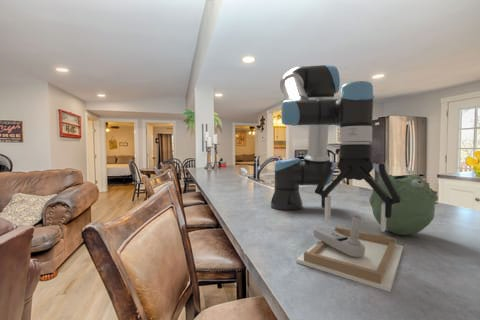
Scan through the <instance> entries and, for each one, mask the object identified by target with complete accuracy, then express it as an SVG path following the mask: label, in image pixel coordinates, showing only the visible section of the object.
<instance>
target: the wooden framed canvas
mask: <svg viewBox="0 0 480 320" xmlns="http://www.w3.org/2000/svg"><path fill="white" fill-rule="evenodd" d="M333 231H336V232H338V233H340V234H342V235H344V236H347V237H349V238H350V232H351V228H346V227H340V226H335V227H334V230H333ZM396 239H397V238H395V237H391V236H387V235H382V234H376V233H371V232H365V231H361V230H360V231H359V239H358V240H359V241H360V243H362V244H363V245H364V246H365V253H364V255H363V256H362V257H353V256H350V255H348V254H346V253H344V252H342V251H340V250H338V249H336V248H334V247H332V246H330V245H328V244H326V243H325V242H323V241H321V240H319V239H318V241H317V242H315V243H314V244H313V245H311V247H310V248H308V249H307V250H305V251H304V252H303V253H302V254H301V255H300V256H298V257H297V258H296V260H295V261H296V263H298V264H301V265H304V266H307V267H310V268H313V269H317V270H319V271H323V272H326V273H329V274H333V275H335V276H338V277H342V278H345V279H347V280H351V281H354V282H357V283H360V284H363V285H367V286H370V287H373V288H376V289H379V290H382V291H385V292H389V293H391V291H392V289H393V285H394V282H395V278H396V274H397V271H398V268H399V265H400V261H401V257H402V254H403V250H404V246H403V245H398V244H396V241H397V240H396Z"/></svg>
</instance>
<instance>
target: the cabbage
mask: <svg viewBox="0 0 480 320" xmlns="http://www.w3.org/2000/svg"><path fill="white" fill-rule="evenodd" d="M388 175H389V177H390V179H391V181H392V183H393V185H394V186H395V188H396V190H397V192H398V194H399V196H400V198H401V201H400V202H399V203H394V204H392V215H391V217H390V218H387V217H386V230H387V231H389V232H390V233H393V234H395V235H397V236H398V235H399V236H410V235H416V234H418V233H419V232H421V231H423V230H424V229H425V228H427V227H428V226H429V225H430V224H431V222H432V221H433V219H434V218H435V211H436V205H437V204H438V202H437V201H439V197H438V191H436V190H433V189H432V188H431V187H430V186H431V185H430V183H429V182H427V181H425V180H424V179H423V178H422V176H420V175H419V174H416V173H413V174H412V175H408V174H405V175H404V174H403V175H392V174H388ZM377 183H378V184H379V186H380V187H381V188H382V189H383V190H384V191H385V192H386V194H387V195H388V196H389V197H390V198H392V196H391V194H390V193H389V191H388V189H387V187H386V185H385V183H384V181H383V179H382V178H381V179H379V181H377ZM369 203H370V206H371V208H372V210H371V211H372V215H373V217H374V218H375V220H376V221H377V223H378V224H379V225H380V226H381V204H382V203H385V202H384V201H383V200H382V199H381V198H380V197H379V195H378V194H377V193H376V192H375V191H374V190H373V189H372V193H371V195H370V197H369Z"/></svg>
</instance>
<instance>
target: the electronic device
mask: <svg viewBox="0 0 480 320" xmlns="http://www.w3.org/2000/svg"><path fill="white" fill-rule="evenodd" d="M351 220H352V221H351V227H350V229H351V232H350V238H349V237H347V236H344V235H342V234H340V233H338V232H336V231H334V230H333V229H331V228H329V227H325V226H315V227H313V234H312V235H313V237H314V238H315V239H317V240H318V241H319V240H321V241H323V242H325V243H326V244H328V245H330V246H332V247H334V248H336V249H338V250H340V251H342V252H344V253H346V254H348V255H350V256H353V257H362V256H363V255H364V253H365V246H364V245H363V244H362V243H360V241H359V240H358V239H359V231H361V229H360V225H361V216H358V215H353V216H352V219H351Z"/></svg>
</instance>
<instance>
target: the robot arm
mask: <svg viewBox="0 0 480 320" xmlns="http://www.w3.org/2000/svg"><path fill="white" fill-rule="evenodd" d="M340 78H341V77H340V73H339V70H338V68H337V66H335V65H327V64H324V65H308V66H307V65H306V66H303V65H302V66H296V67H294V68H291V69H290V70H288V71H287V72H285V73H284V75H283V76H282V78H281V79H280V83H279V88H280V91H281V93H282V94H283V95H284V100H283V101H282V103H281V112H280V113H281V115H280V116H281V118H280V119H281V123H282V124H283V125H285V126H295V127H296V126H308V136H307V137H308V139H307V140H308V141H307V154H305V156H304V157H303V161H302V160H300V157H299V158H298V157H295V158H285V159H279V160H276V162H275V163H274V189H273V190H274V191H273V195H272V197H271V200H270V207H271V208H272V209H275V210H280V211H298V210H301V209H303V201H302V197H301V194H300V186H316V188H315V190H314V194H317V195H320V196H321V208H323V209H324V221H325V222H329V221H331V218H332V217H331V214H332V213H331V211H332V210H331V208H332V196H331V195H329V194H330V193H331V192H332V191H334V189H335V188H336V187H337V186H339V184H341V182H342V181H343V180H344V179H346V180H356V181H362V180H364V181H365V182H366V183H367V184H368V185H369V186H370V187H371V188H372V191H373V190H374V191H375V192H376V193H377V194H378V195H379V197H380V198H381V199H382V200H383V201H384V202H385V203H382V204H381V225H380V232H383V233H384V232H385V231H386V230H387V229H386V217H387V218H390V217H391V215H392V204H394V203H399V202H400V201H401V198H400V196H399V194H398V192H397V190H396V188H395V186H394V185H393V183H392V181H391V179H390V177H389V175H390V174H389V173H388V172H387V164H386V163H385V162H382V163H375V164H374V163H373V161H372V156H373V155H372V153H373V152H372V151H373V146H372V144H370V143H372V142H373V114H374V113H373V112H374V110H373V109H374V98H375V96H374V85H373V84H372V82H370V81H366V80H357V81H350V82H346V83H345V84H343V85H340V84H341V79H340ZM340 86H341V87H340ZM339 90H340V95H339V97H340V98H335V94H338V93H339ZM334 98H335V99H334ZM331 125H332V126H336V127H337V126H339V142H340V143H342V144H340V145H339V157H338V158H339V160H338V162H334V161H332V160H331V158H330V156H329V155H328V140H329V126H331ZM336 168H338V170H339V171H340V172H339V174H337V176H336V177H335V178H334V173H335V172H334V171H335V170H336ZM373 169H374V170H375V171H376V173H379V175H380V178H381V179H383V181H384V183H385V185H386V187H387V189H388V191H389V193H390V194H391V196H392V198H390V197H389V196H388V195H387V194H386V192H385V191H384V190H383V189H382V188H381V187H380V186H379V184H378V181H376V180H375V178H374V177H373V176H372V174H371V172H372V170H373ZM333 178H334V180H333ZM325 187H326V188H325ZM324 188H325V189H324Z"/></svg>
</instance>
